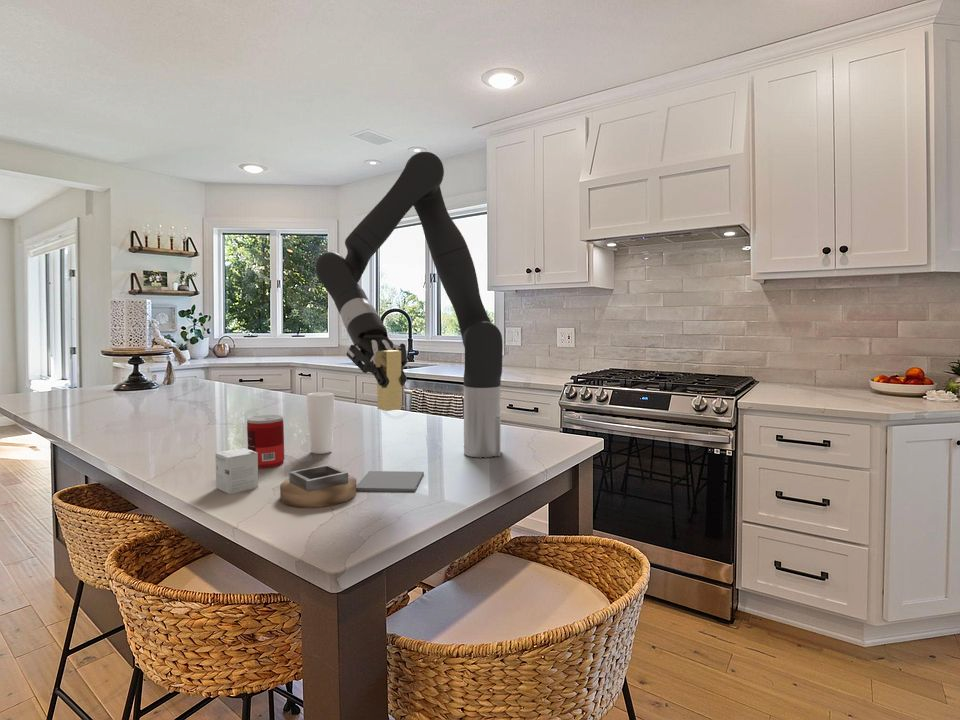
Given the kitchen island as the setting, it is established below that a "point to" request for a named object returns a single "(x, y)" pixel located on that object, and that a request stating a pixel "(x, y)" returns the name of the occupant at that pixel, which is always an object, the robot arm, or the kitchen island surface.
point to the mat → (389, 481)
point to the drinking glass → (320, 421)
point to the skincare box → (236, 470)
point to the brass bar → (390, 380)
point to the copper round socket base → (317, 487)
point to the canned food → (266, 439)
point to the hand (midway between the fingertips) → (394, 384)
